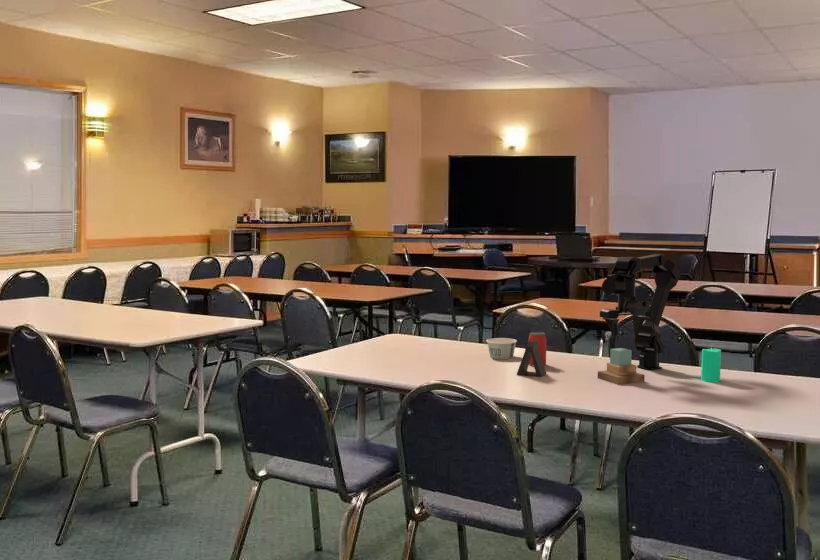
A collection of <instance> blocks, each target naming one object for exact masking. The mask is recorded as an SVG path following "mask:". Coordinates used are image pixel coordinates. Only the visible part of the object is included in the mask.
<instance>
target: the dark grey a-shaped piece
mask: <svg viewBox="0 0 820 560" xmlns="http://www.w3.org/2000/svg"><path fill="white" fill-rule="evenodd" d="M531 344H532V345H531ZM531 355H532V360H533V364H534V366H533V368H534V371H530V370H529V371H528V368H529V366H530V365H529V362H530V358H531ZM546 374H547V371H546V368H545V365H544V364H543V361H542V358H541V355H540V352H539V349H538V341H537V340H534V341H533V340H531V341H529V342H528V341H527V342H526V343H525V345H524V354H523V356H522V358H521V361H520V364H519V366H518V369H517V372H516V376H522V377H534V378H542V377H543V376H545V375H546Z"/></svg>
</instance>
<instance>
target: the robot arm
mask: <svg viewBox="0 0 820 560" xmlns="http://www.w3.org/2000/svg"><path fill="white" fill-rule="evenodd" d="M645 268H646V269H647V268H651V271H652V273H653V274H654V278H653V280H654V283H655V290H654V293H653V296H652V298H651V302H649V301H647V300H643V301H639V298H638V296H637V295H636V280H637V281H638V280H639V276H638V275H637V273H639V272H641V270H642V269H645ZM680 278H681V271H680V269H679V267H678V266H677V265H676V264H675V263H674V261H673V262H672V261H671V260H670V259H669V258H668V257H667V255H665V254H664V253H663V254H662V253H653V254H650V255H648V254H647V255H643V256H639V257H633V256H632V257H630V256H619V257H618V258H617V259H616V261H615V263H614V265H613V266H612V269H611V271H610V274H607V275H606V278H605V279H604V280H603V282H602V283H601V290H602V291H603V293H604V294H605V295H608V296H611V295H612V296H613V295H615V299H617V306H615V309H613V308H602V309H601V310H600V311H599V317H600V318H602V320H604V321H605V322H606V325H607V326H608V328H609V330H610V333H611V334H612V337H613V339H616V338H617V335H618V322H620V319H619V316H620V317H621V316H632V323H633V331H634V339H633V341H634V346H635V350H636V351H639V352H640V353H639V357H638V360H639V361H638V364H636V368H641V369H644V370H649V371H650V370H659V369H660V370H661V369H663V366H660V354H662V353H664V351H665V345H664V343H663V342H662V340H661V336H662V334H661V331H660V322H661V320H662V317H663V313H664V310H665V307H666V303H667V301H668V298H669V296H670V295H669V294H670V291H671V290H673V288H675V287H676V286H677V284H678V282H679V280H680Z"/></svg>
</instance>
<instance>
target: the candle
mask: <svg viewBox="0 0 820 560" xmlns="http://www.w3.org/2000/svg"><path fill="white" fill-rule="evenodd" d="M712 346H713V344H712V345H710V348H707V349H706V348H702V350H701V367H700V368H701V370H700V381H703V382H706V383H719V382H721V367H722V366H721V364H722V363H721V362H722V361H721V360H722V358H721V357H722V349H718V348H716V347H715V348H712Z"/></svg>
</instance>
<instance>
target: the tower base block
mask: <svg viewBox="0 0 820 560" xmlns="http://www.w3.org/2000/svg"><path fill="white" fill-rule="evenodd" d="M597 379H599V380H602V381H605V382H607V383H611V384H615V385H619V386H620V385H625V384H626V385H627V384H634V383H635V384H636V383H644V382H645V374H643V373H641V372H637V371H636V374H633V375H620V376H618V375H615V374H612V373H609V372H607V369H606V370H598V371H597Z"/></svg>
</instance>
